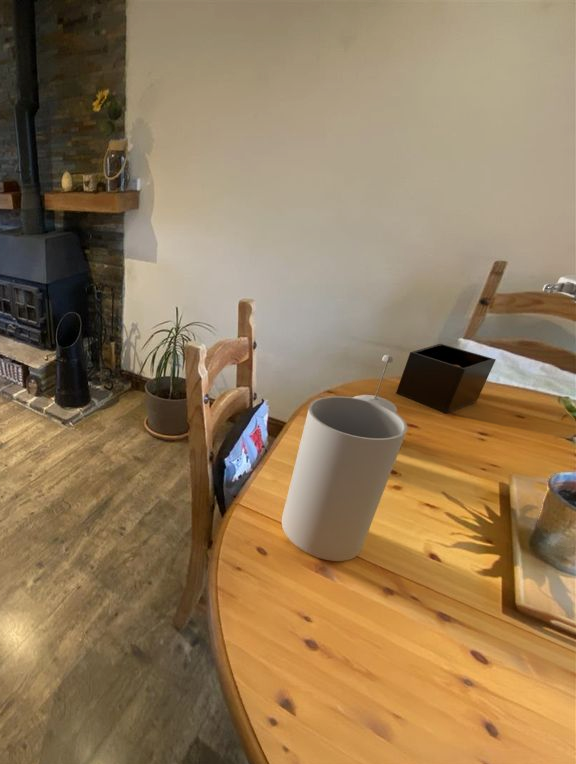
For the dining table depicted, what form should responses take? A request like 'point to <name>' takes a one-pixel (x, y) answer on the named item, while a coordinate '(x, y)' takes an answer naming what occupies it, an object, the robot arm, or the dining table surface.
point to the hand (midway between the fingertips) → (560, 293)
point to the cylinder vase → (340, 475)
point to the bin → (444, 377)
